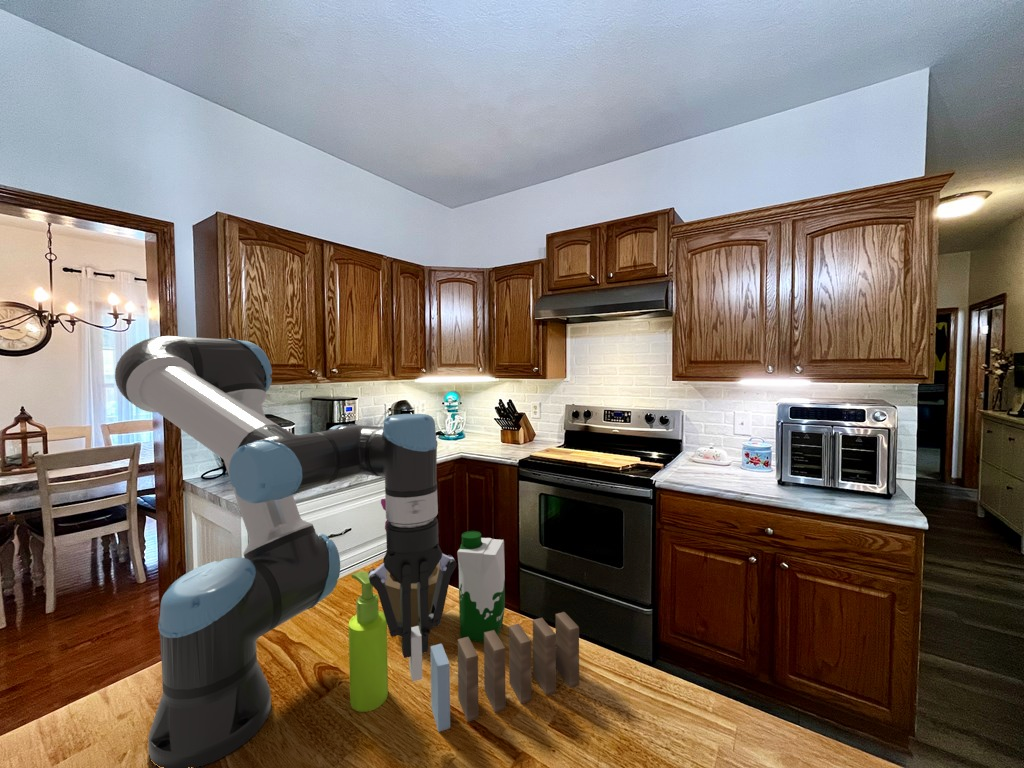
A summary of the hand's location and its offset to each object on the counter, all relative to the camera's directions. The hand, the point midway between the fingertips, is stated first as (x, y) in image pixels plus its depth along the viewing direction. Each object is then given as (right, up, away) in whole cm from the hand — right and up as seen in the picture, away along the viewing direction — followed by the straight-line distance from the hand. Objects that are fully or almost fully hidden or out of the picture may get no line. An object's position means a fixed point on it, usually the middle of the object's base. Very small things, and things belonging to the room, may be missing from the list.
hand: (415, 674), depth 64 cm
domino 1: (+3, -8, +2) cm, 9 cm away
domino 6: (+24, -8, +11) cm, 27 cm away
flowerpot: (-7, -7, +28) cm, 30 cm away
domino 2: (+8, -8, +4) cm, 12 cm away
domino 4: (+16, -8, +7) cm, 19 cm away
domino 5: (+20, -8, +9) cm, 23 cm away
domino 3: (+12, -8, +6) cm, 15 cm away
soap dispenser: (-9, -8, +6) cm, 14 cm away
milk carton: (+8, -7, +24) cm, 26 cm away
